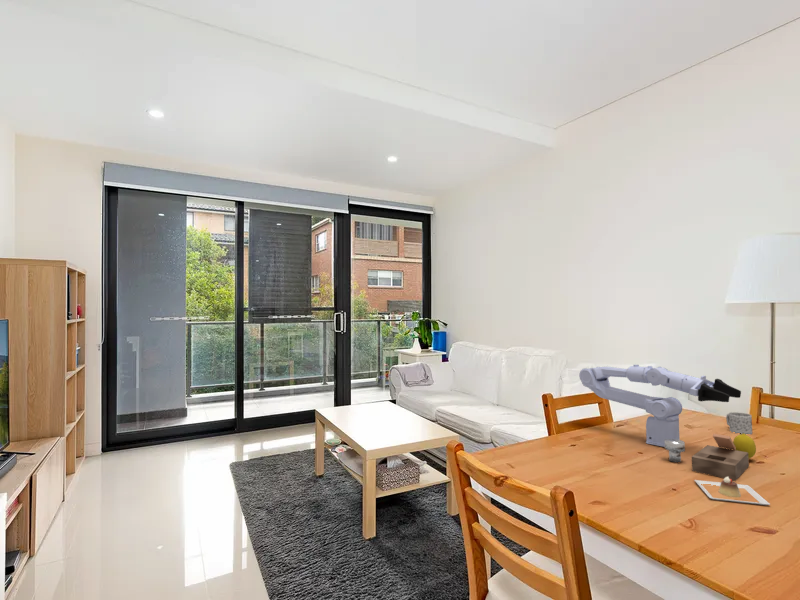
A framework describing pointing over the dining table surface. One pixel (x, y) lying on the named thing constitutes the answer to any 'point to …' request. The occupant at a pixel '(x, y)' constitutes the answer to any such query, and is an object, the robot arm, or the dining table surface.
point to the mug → (739, 422)
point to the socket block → (720, 462)
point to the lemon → (745, 444)
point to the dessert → (732, 491)
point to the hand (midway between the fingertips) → (734, 396)
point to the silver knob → (674, 449)
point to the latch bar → (724, 441)
